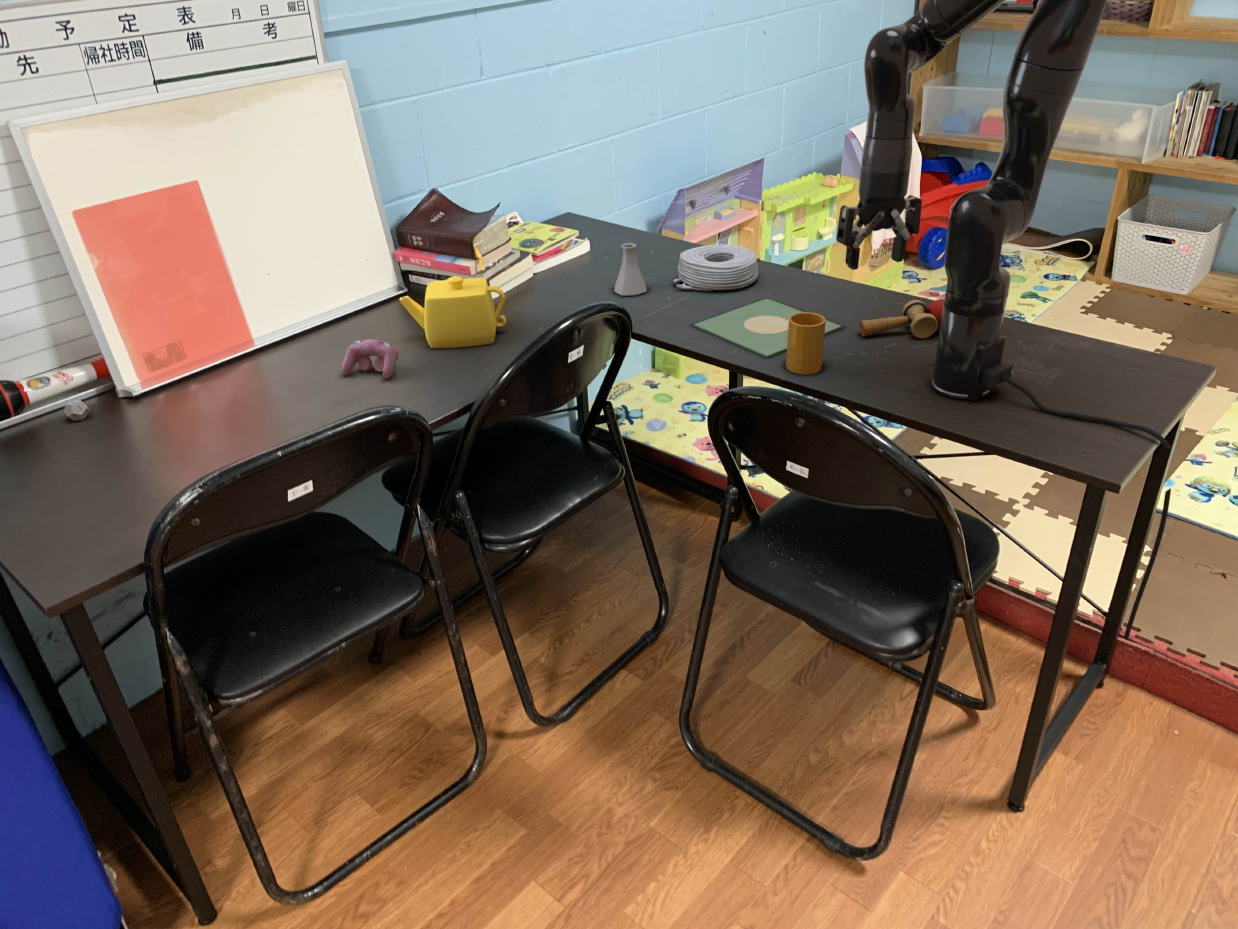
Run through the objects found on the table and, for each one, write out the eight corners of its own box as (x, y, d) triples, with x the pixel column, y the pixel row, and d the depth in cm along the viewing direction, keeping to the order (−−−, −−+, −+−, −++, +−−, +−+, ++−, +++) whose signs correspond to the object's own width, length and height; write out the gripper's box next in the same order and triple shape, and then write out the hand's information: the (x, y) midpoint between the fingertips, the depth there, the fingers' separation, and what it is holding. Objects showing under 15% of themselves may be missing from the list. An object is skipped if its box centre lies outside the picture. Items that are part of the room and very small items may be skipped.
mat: (841, 327, 177) (841, 325, 177) (767, 357, 167) (767, 355, 167) (766, 300, 191) (766, 297, 191) (694, 326, 181) (694, 323, 181)
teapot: (404, 353, 176) (393, 294, 170) (409, 327, 186) (399, 271, 180) (509, 344, 177) (502, 285, 171) (508, 319, 188) (502, 263, 182)
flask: (609, 287, 201) (607, 242, 196) (641, 282, 203) (639, 238, 198) (619, 298, 195) (617, 252, 190) (651, 293, 197) (650, 247, 192)
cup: (829, 367, 163) (833, 319, 158) (804, 377, 160) (808, 329, 155) (802, 356, 167) (806, 309, 162) (778, 366, 164) (781, 318, 159)
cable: (669, 290, 198) (668, 263, 195) (687, 263, 212) (687, 238, 209) (750, 296, 193) (751, 268, 190) (763, 268, 207) (764, 242, 204)
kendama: (870, 352, 170) (966, 332, 170) (867, 318, 168) (964, 298, 168) (857, 342, 177) (950, 323, 177) (854, 310, 175) (948, 290, 175)
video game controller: (400, 380, 169) (402, 341, 168) (387, 379, 165) (390, 340, 164) (352, 376, 172) (354, 338, 171) (338, 375, 167) (340, 336, 167)
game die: (85, 410, 161) (79, 395, 159) (94, 416, 158) (88, 401, 157) (64, 418, 158) (57, 403, 157) (73, 424, 156) (67, 409, 155)
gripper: (859, 176, 140) (850, 278, 149) (938, 164, 144) (924, 264, 153) (833, 165, 146) (825, 264, 155) (909, 154, 150) (897, 251, 159)
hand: (874, 264), depth 154 cm, fingers open, 8 cm apart
